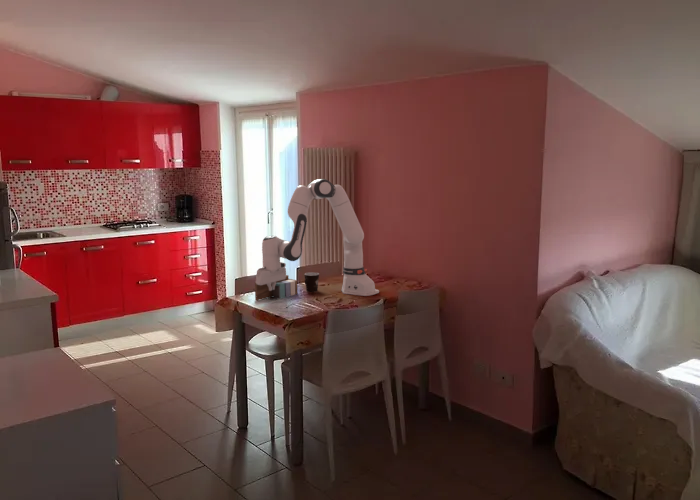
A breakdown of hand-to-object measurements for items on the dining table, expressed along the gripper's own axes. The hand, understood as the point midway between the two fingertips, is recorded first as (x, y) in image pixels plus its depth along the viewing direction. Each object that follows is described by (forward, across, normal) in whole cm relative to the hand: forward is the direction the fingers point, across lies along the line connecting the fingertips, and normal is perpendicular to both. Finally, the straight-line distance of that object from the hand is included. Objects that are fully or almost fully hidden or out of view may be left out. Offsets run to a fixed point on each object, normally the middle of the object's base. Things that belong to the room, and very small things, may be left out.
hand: (271, 290), depth 327 cm
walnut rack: (+5, +6, +3) cm, 9 cm away
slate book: (+6, +11, +1) cm, 12 cm away
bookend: (+5, +2, +1) cm, 6 cm away
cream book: (+6, +15, 0) cm, 16 cm away
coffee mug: (+6, +28, -3) cm, 29 cm away
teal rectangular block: (+6, +6, +1) cm, 8 cm away
